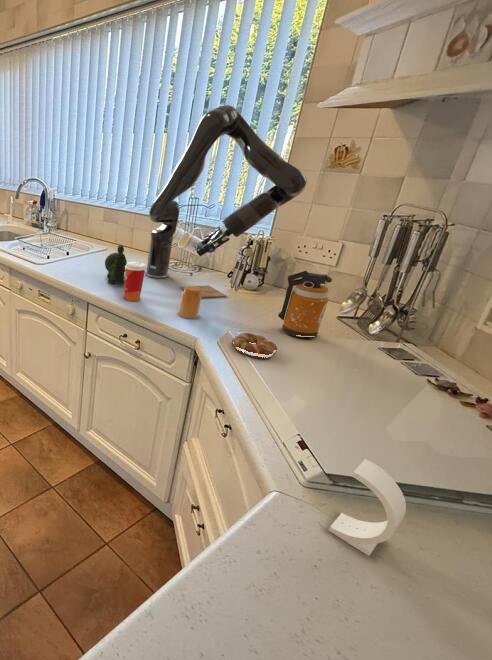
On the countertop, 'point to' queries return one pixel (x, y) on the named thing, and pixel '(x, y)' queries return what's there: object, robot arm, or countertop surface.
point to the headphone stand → (366, 532)
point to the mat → (209, 292)
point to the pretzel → (260, 346)
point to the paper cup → (133, 280)
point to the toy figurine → (116, 266)
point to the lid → (200, 245)
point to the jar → (190, 302)
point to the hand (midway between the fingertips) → (197, 251)
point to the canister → (305, 304)
